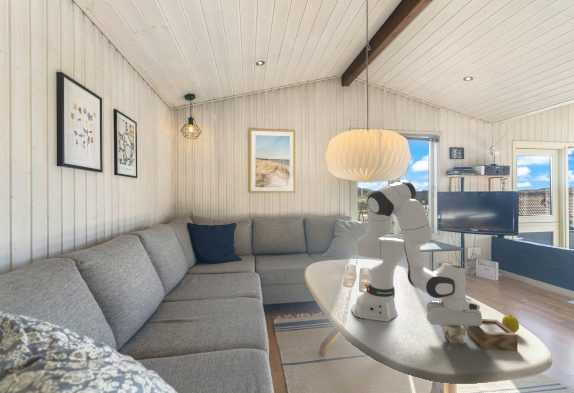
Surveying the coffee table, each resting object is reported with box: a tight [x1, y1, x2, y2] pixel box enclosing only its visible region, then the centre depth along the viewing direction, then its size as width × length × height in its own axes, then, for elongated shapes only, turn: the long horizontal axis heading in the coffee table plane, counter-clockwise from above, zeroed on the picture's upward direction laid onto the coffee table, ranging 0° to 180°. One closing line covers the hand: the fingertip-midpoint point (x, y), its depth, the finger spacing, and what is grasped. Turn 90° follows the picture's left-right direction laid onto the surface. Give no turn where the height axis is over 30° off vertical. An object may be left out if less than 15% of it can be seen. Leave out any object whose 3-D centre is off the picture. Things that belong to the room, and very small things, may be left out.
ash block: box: [444, 325, 465, 344], centre depth 108 cm, size 5×5×6 cm
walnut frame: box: [466, 318, 518, 352], centre depth 106 cm, size 12×12×6 cm
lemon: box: [501, 314, 520, 333], centre depth 112 cm, size 6×6×8 cm
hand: (453, 334), depth 108 cm, fingers open, 5 cm apart
